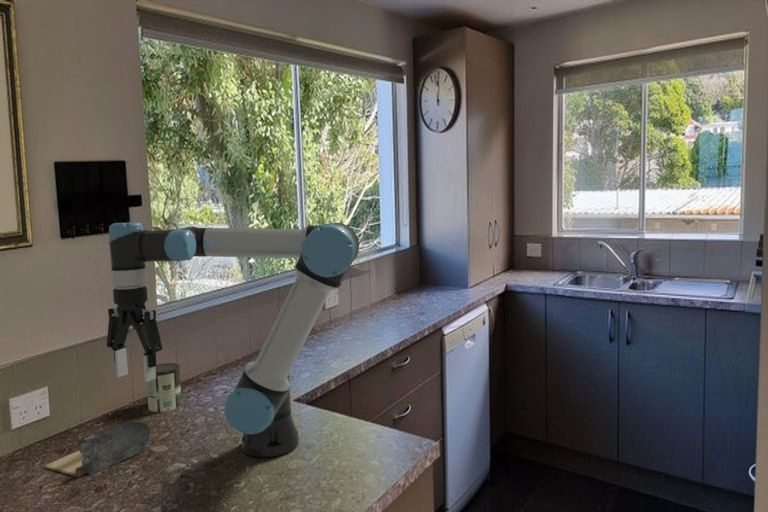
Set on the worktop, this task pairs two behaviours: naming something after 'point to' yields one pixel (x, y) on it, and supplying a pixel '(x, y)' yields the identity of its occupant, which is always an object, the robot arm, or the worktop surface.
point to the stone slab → (113, 445)
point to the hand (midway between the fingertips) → (136, 377)
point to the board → (69, 465)
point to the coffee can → (164, 388)
